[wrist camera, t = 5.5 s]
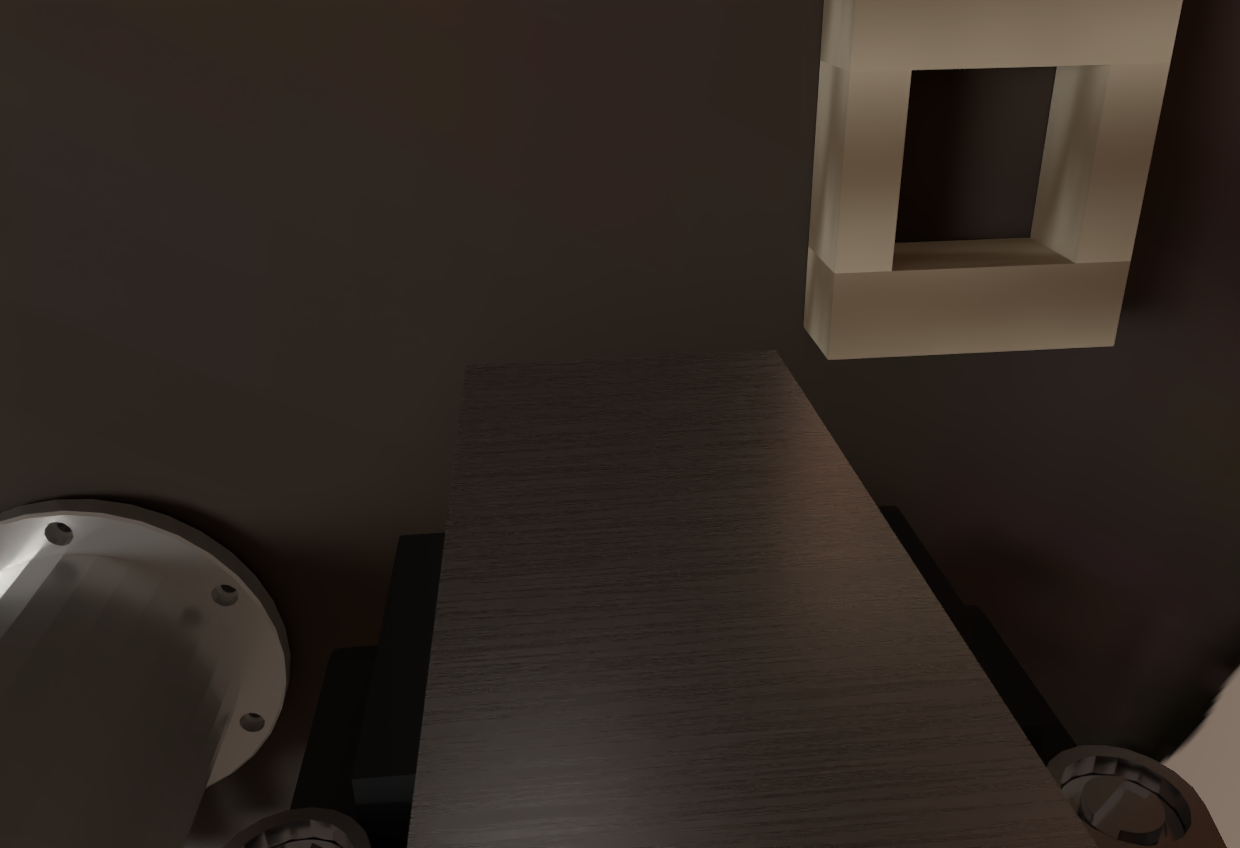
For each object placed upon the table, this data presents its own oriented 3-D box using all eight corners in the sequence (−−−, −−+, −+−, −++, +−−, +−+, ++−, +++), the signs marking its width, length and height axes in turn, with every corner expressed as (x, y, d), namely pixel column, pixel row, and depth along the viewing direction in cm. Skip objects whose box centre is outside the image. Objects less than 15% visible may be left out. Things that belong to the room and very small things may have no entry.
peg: (762, 605, 17) (1060, 1400, 7) (488, 624, 16) (451, 1479, 7) (775, 349, 15) (1192, 993, 6) (466, 365, 14) (379, 1075, 5)
